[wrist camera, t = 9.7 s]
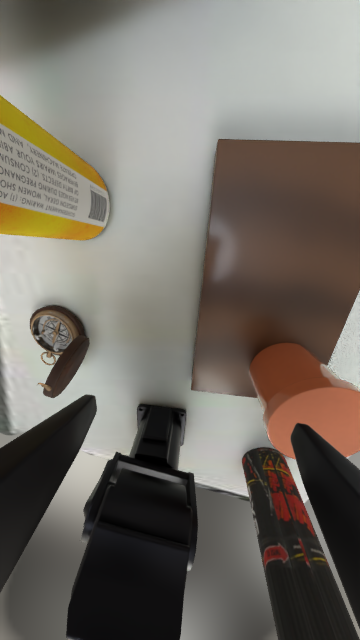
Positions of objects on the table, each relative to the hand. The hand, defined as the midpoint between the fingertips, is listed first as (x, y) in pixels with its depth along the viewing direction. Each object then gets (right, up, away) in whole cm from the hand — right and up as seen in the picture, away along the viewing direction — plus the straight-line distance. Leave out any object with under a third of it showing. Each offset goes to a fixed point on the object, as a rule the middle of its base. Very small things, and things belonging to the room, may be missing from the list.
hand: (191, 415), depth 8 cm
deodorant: (+12, -16, +18) cm, 27 cm away
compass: (-14, +2, +14) cm, 20 cm away
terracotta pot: (+10, -1, +10) cm, 14 cm away
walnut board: (+8, +7, +10) cm, 14 cm away
